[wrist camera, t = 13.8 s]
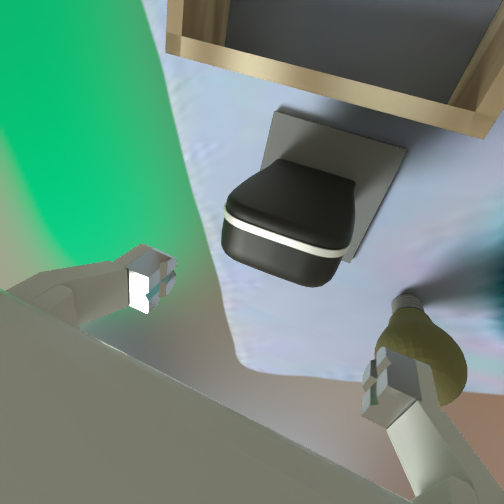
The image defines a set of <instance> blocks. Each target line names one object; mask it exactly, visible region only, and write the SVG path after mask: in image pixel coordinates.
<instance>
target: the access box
mask: <svg viewBox="0 0 504 504" xmlns="http://www.w3.org/2000/svg"><path fill="white" fill-rule="evenodd" d="M230 3H231V0H168V2H167V27H166V51H165V53H168V54H172V55H176V56H179V57H183V58H187V59H190V60H194V61H198V62H201V63H205V64H209V65H212V66H216V67H220V68H223V69H227V70H231V71H234V72H238V73H242V74H245V75H249V76H253V77H256V78H260V79H264V80H267V81H271V82H275V83H278V84H282V85H286V86H289V87H293V88H297V89H300V90H304V91H308V92H311V93H315V94H319V95H322V96H326V97H330V98H333V99H337V100H341V101H344V102H348V103H351V104H355V105H359V106H362V107H366V108H370V109H373V110H377V111H381V112H384V113H388V114H392V115H395V116H399V117H403V118H406V119H410V120H414V121H417V122H421V123H425V124H428V125H432V126H436V127H439V128H443V129H447V130H450V131H454V132H458V133H461V134H465V135H469V136H472V137H476V138H480V139H483V140H484V138H485V137H486V135H487V133H488V132H489V130H490V129H491V127H492V126H493V124H494V123H495V121H496V119H497V118H498V116H499V115H500V113H501V112H502V110H503V109H504V0H503V1H502V3H501V5H500V7H499V9H498V10H497V12H496V14H495V16H494V18H493V20H492V21H491V23H490V25H489V27H488V29H487V31H486V33H485V34H484V36H483V38H482V40H481V42H480V44H479V46H478V47H477V49H476V51H475V53H474V55H473V57H472V59H471V60H470V62H469V64H468V66H467V68H466V70H465V72H464V73H463V75H462V77H461V79H460V81H459V83H458V85H457V86H456V88H455V90H454V92H453V94H452V96H451V98H450V99H449V101H448V103H447V105H446V104H442V103H438V102H435V101H431V100H427V99H423V98H419V97H415V96H411V95H408V94H404V93H400V92H396V91H392V90H388V89H384V88H381V87H377V86H373V85H369V84H365V83H361V82H357V81H354V80H350V79H346V78H342V77H338V76H334V75H330V74H326V73H323V72H319V71H315V70H311V69H307V68H303V67H299V66H296V65H292V64H288V63H284V62H280V61H276V60H272V59H269V58H265V57H261V56H257V55H253V54H249V53H245V52H242V51H238V50H234V49H230V48H226V47H225V40H226V33H227V25H228V18H229V10H230Z"/></svg>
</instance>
